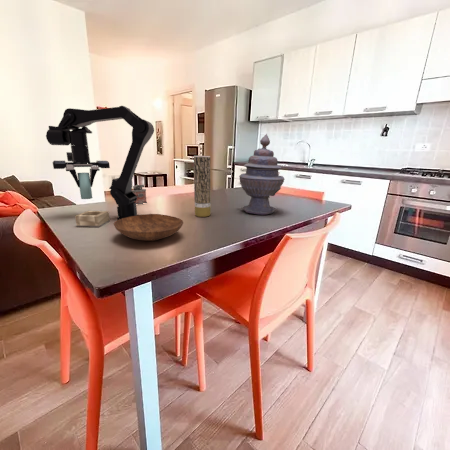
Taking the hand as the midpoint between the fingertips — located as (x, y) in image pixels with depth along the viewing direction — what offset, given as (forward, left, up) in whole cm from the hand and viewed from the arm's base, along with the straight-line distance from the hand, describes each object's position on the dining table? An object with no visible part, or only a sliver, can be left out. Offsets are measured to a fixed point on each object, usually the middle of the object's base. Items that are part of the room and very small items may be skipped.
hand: (85, 186), depth 97 cm
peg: (0, 0, -5) cm, 4 cm away
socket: (-7, +10, -12) cm, 17 cm away
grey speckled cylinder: (-46, -6, -13) cm, 48 cm away
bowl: (-32, +23, -13) cm, 41 cm away
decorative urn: (-72, -15, -13) cm, 75 cm away
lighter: (-11, -28, -13) cm, 33 cm away
